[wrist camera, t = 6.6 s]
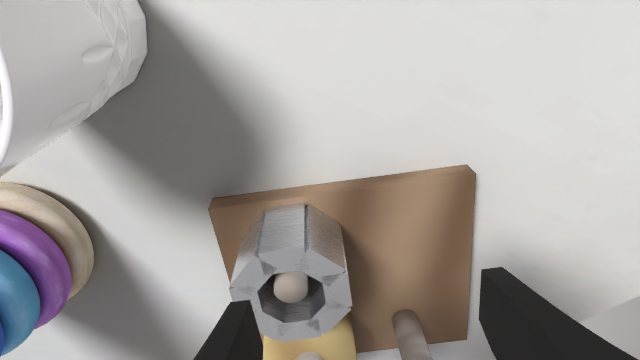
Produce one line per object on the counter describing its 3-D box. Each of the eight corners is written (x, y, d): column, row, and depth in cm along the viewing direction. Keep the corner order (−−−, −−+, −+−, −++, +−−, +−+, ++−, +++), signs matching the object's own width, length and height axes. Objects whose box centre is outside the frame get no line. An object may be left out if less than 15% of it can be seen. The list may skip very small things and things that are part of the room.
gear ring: (336, 197, 20) (343, 241, 16) (347, 277, 22) (355, 332, 19) (234, 211, 20) (219, 259, 16) (256, 290, 22) (247, 346, 19)
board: (466, 164, 21) (508, 207, 16) (460, 325, 26) (490, 389, 22) (213, 198, 21) (189, 249, 17) (256, 350, 26) (247, 418, 22)
